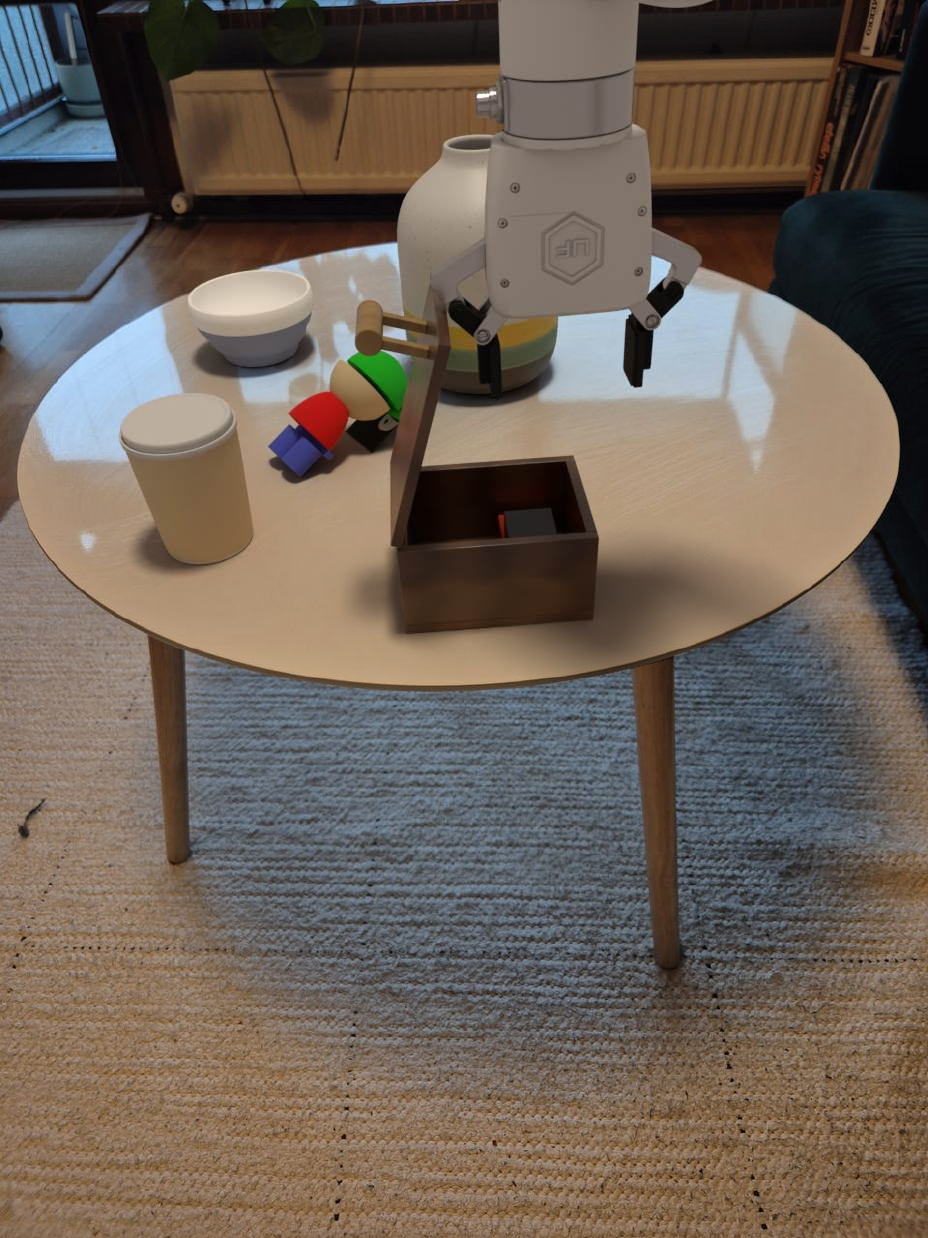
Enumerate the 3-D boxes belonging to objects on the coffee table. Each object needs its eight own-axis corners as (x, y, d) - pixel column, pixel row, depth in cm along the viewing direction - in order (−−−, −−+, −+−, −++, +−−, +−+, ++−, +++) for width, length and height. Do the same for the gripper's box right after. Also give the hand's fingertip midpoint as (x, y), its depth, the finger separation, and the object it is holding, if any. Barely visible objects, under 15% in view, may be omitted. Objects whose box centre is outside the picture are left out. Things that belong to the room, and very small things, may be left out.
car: (565, 598, 70) (567, 550, 67) (506, 602, 70) (506, 554, 67) (550, 538, 76) (552, 492, 73) (497, 542, 76) (496, 496, 73)
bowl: (218, 330, 115) (204, 270, 110) (329, 327, 114) (320, 267, 109) (187, 381, 104) (170, 318, 99) (310, 378, 103) (299, 314, 98)
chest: (570, 532, 78) (573, 454, 73) (593, 619, 69) (599, 537, 64) (403, 545, 77) (395, 467, 72) (406, 633, 69) (396, 552, 63)
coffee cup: (218, 498, 84) (187, 380, 76) (284, 532, 80) (258, 410, 72) (135, 545, 79) (92, 424, 71) (200, 584, 74) (162, 459, 66)
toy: (334, 509, 88) (437, 400, 88) (285, 463, 82) (396, 346, 82) (296, 473, 94) (393, 370, 94) (247, 427, 88) (352, 318, 88)
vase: (516, 332, 110) (516, 113, 94) (583, 387, 98) (595, 148, 82) (388, 360, 106) (365, 136, 90) (442, 422, 94) (426, 175, 78)
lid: (442, 276, 62) (363, 259, 61) (451, 346, 54) (359, 326, 53) (399, 463, 72) (330, 451, 71) (401, 548, 63) (322, 535, 62)
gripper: (418, 134, 48) (442, 421, 59) (736, 107, 48) (701, 398, 59) (414, 106, 54) (437, 373, 65) (699, 82, 54) (673, 352, 65)
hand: (563, 385), depth 62 cm, fingers open, 9 cm apart
